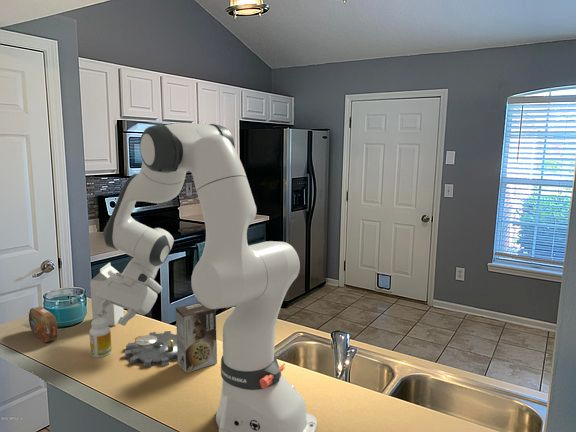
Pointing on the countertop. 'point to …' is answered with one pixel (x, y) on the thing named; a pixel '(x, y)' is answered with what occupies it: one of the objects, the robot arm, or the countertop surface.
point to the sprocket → (153, 349)
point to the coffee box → (196, 336)
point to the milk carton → (112, 310)
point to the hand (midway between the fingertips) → (110, 320)
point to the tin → (43, 324)
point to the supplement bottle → (100, 338)
